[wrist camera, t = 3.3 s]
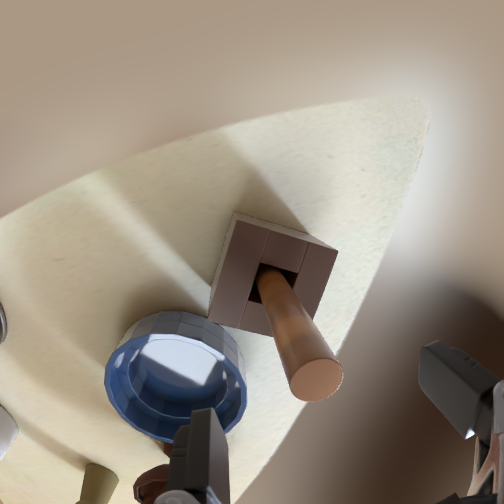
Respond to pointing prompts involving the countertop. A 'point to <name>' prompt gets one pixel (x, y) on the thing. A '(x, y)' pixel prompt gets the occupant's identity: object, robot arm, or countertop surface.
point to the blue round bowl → (175, 374)
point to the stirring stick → (297, 339)
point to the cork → (97, 485)
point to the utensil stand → (271, 253)
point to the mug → (6, 431)
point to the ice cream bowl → (152, 481)
